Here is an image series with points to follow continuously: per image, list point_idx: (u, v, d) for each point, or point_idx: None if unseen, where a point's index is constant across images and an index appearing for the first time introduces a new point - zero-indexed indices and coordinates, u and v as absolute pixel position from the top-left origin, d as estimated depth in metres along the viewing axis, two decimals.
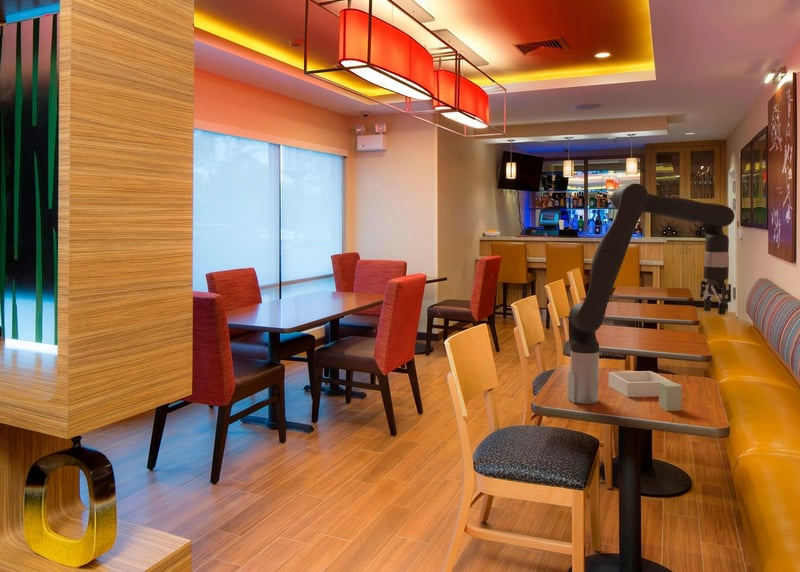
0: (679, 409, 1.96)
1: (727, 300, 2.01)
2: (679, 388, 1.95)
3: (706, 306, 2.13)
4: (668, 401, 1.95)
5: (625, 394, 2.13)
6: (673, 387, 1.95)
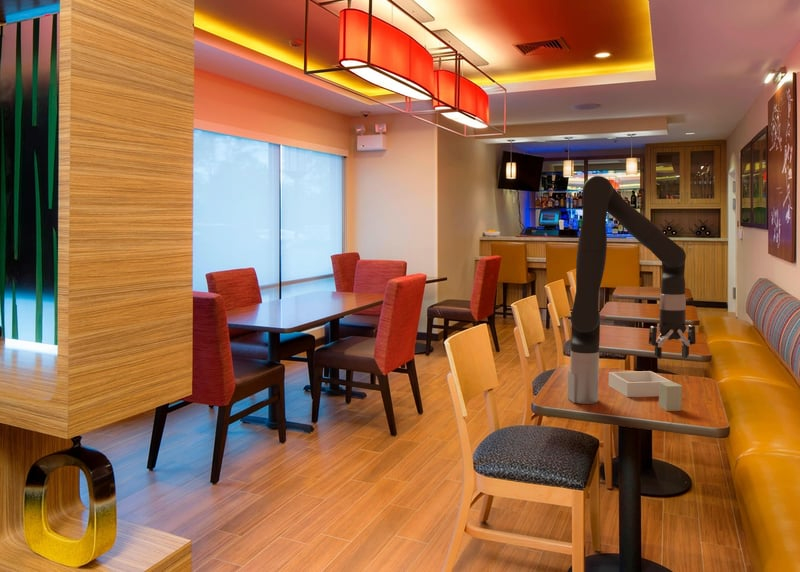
0: (679, 409, 1.96)
1: None
2: (679, 388, 1.95)
3: None
4: (668, 401, 1.95)
5: (625, 394, 2.13)
6: (673, 387, 1.95)
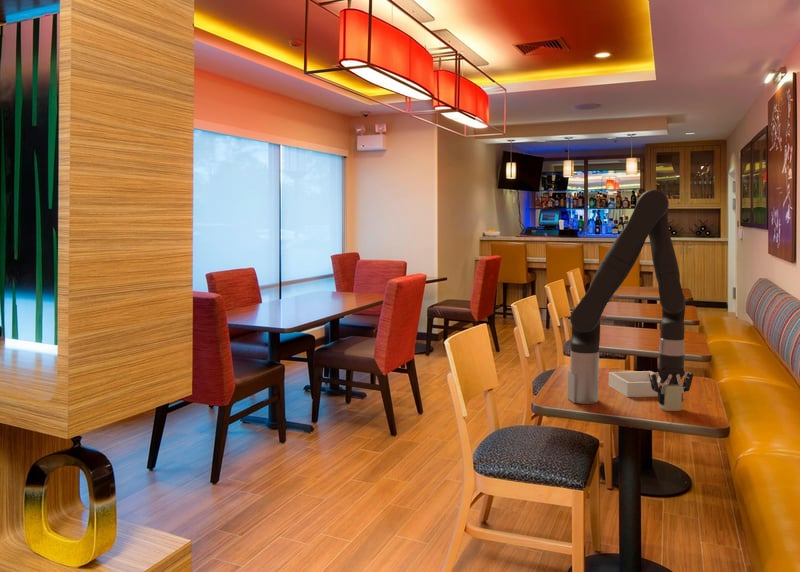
0: (679, 409, 1.96)
1: None
2: (679, 388, 1.95)
3: None
4: (668, 401, 1.95)
5: (625, 394, 2.13)
6: (673, 387, 1.95)
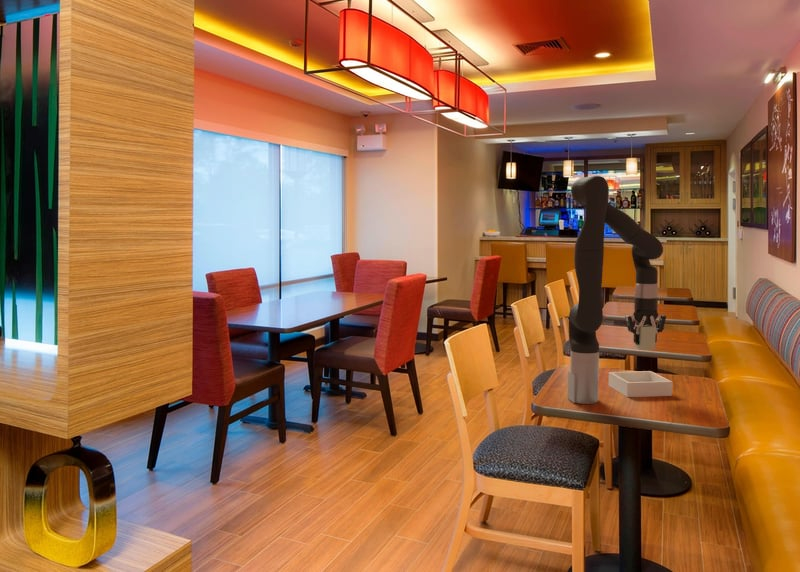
0: (653, 348, 2.13)
1: None
2: (653, 328, 2.12)
3: None
4: (643, 341, 2.13)
5: (625, 394, 2.13)
6: (647, 328, 2.12)
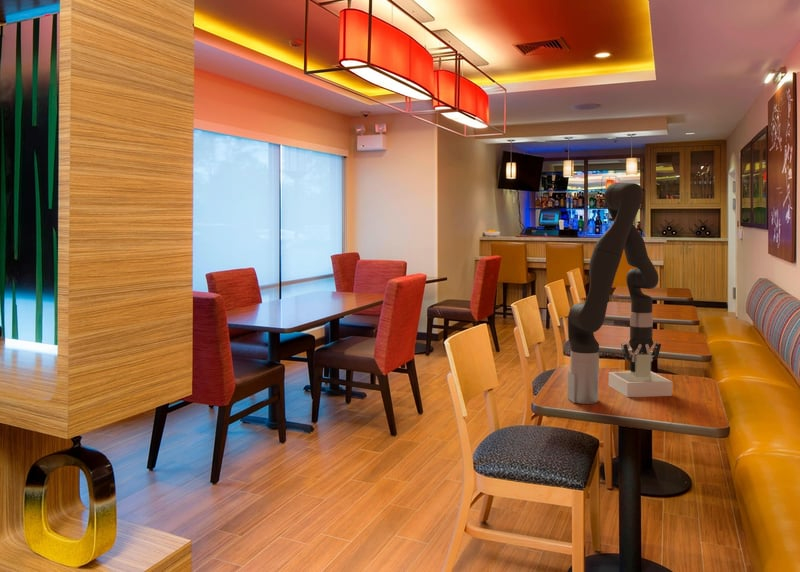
0: (648, 375, 2.17)
1: None
2: (648, 356, 2.16)
3: None
4: (638, 368, 2.17)
5: (625, 394, 2.13)
6: (642, 355, 2.16)
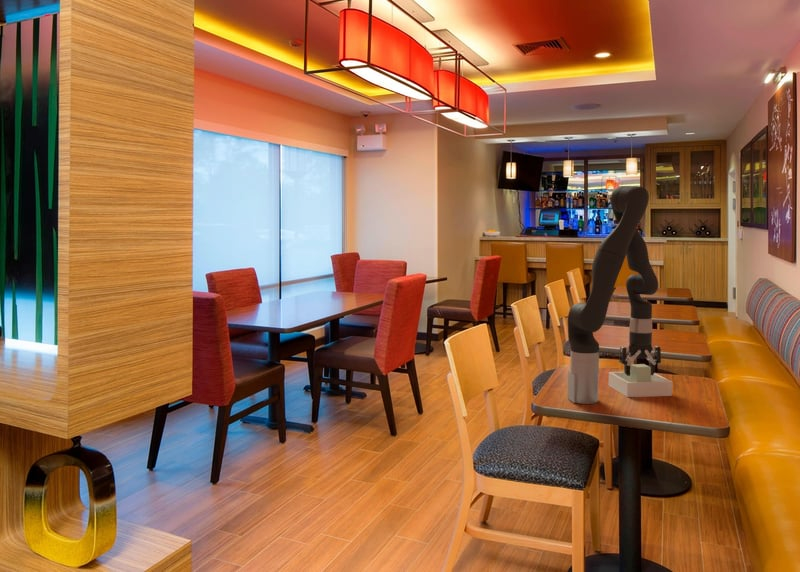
0: None
1: None
2: (648, 369, 2.17)
3: None
4: (638, 381, 2.17)
5: (625, 394, 2.13)
6: (642, 368, 2.17)
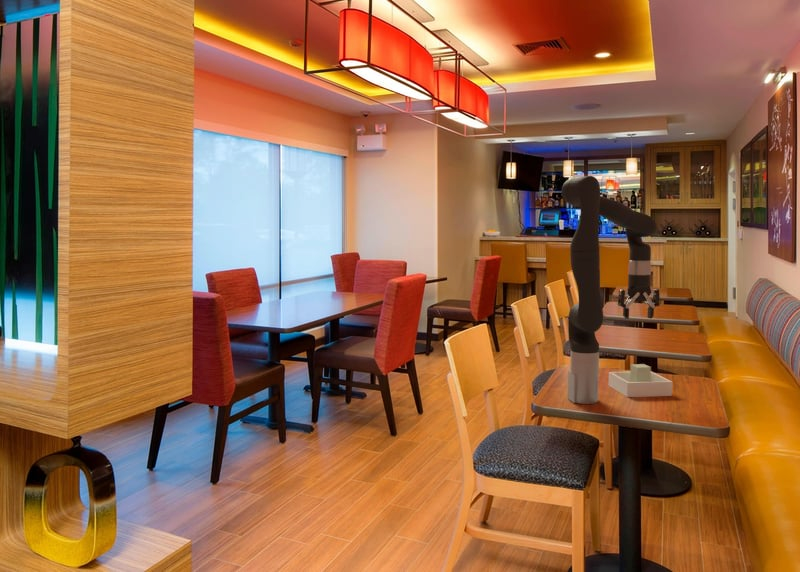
0: None
1: None
2: (648, 369, 2.17)
3: None
4: (638, 381, 2.17)
5: (625, 394, 2.13)
6: (642, 368, 2.17)
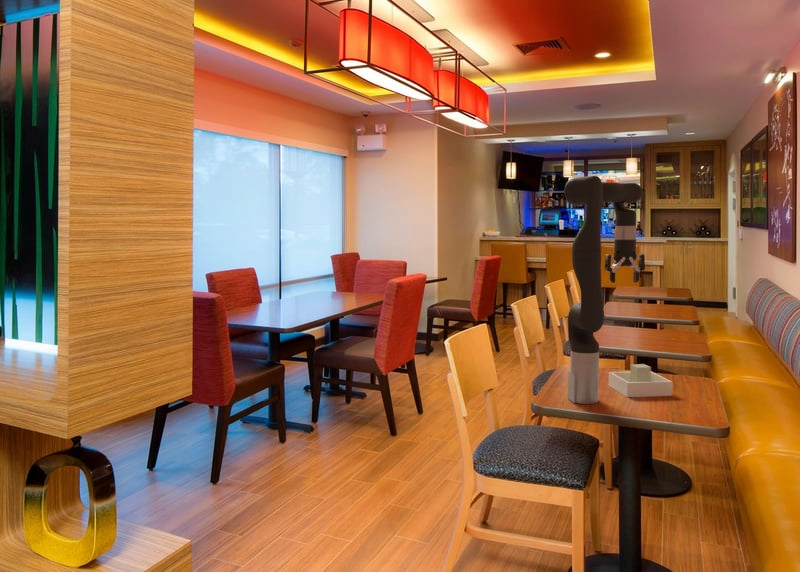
0: None
1: None
2: (648, 369, 2.17)
3: None
4: (638, 381, 2.17)
5: (625, 394, 2.13)
6: (642, 368, 2.17)
